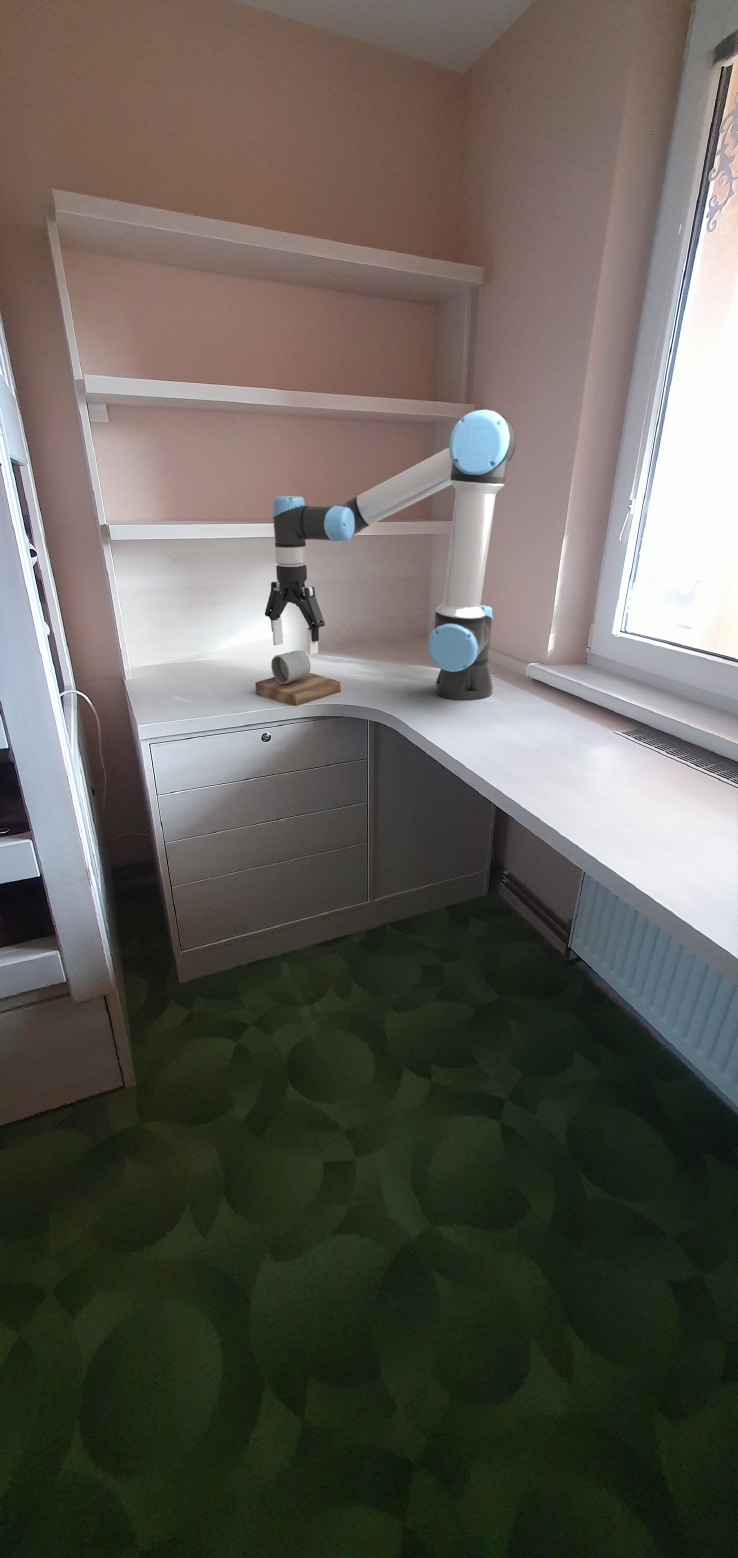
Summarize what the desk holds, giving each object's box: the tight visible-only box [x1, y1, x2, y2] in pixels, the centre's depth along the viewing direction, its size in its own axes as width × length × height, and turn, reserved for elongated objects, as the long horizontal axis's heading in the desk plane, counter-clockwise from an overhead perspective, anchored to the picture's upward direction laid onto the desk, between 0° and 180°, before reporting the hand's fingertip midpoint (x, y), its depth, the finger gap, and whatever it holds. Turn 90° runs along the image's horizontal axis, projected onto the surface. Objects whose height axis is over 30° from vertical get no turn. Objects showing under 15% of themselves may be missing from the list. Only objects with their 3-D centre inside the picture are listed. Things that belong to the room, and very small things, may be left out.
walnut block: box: [255, 672, 341, 707], centre depth 175 cm, size 16×16×4 cm
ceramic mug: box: [270, 650, 311, 684], centre depth 173 cm, size 11×8×8 cm
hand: (295, 649), depth 170 cm, fingers open, 13 cm apart
